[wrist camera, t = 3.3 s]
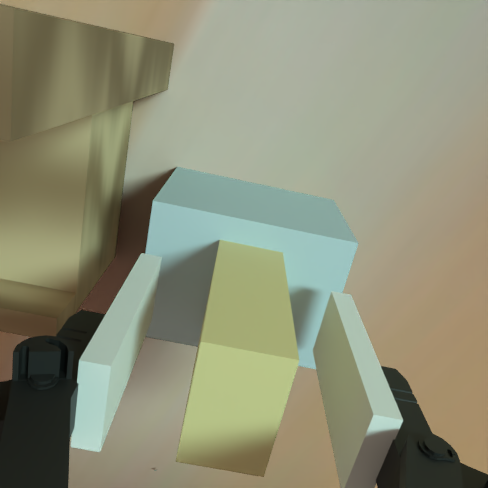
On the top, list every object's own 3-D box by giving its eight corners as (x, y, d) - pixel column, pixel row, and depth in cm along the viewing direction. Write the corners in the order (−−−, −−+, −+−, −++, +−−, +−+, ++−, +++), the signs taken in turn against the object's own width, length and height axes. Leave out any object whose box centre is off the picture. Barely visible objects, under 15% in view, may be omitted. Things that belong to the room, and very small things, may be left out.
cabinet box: (303, 302, 26) (347, 517, 14) (160, 273, 25) (73, 471, 13) (333, 199, 23) (418, 347, 11) (177, 166, 23) (92, 284, 11)
